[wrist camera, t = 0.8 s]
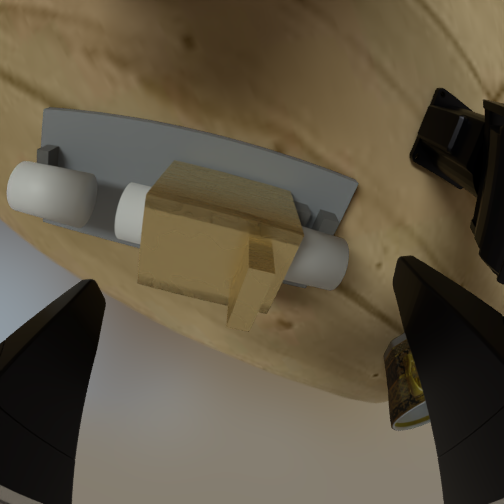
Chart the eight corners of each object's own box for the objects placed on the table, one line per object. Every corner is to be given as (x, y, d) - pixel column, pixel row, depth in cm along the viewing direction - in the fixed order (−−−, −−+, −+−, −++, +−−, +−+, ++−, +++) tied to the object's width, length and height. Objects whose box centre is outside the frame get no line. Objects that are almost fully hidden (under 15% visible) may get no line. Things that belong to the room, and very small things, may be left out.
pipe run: (355, 179, 20) (386, 215, 15) (304, 282, 25) (315, 333, 20) (49, 107, 16) (0, 124, 11) (47, 217, 21) (12, 253, 16)
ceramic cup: (446, 339, 32) (473, 397, 23) (387, 375, 35) (405, 434, 27) (423, 292, 26) (463, 367, 18) (347, 340, 30) (367, 419, 22)
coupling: (290, 191, 19) (313, 265, 12) (263, 258, 22) (268, 346, 15) (174, 160, 18) (127, 218, 11) (161, 233, 21) (124, 313, 14)
